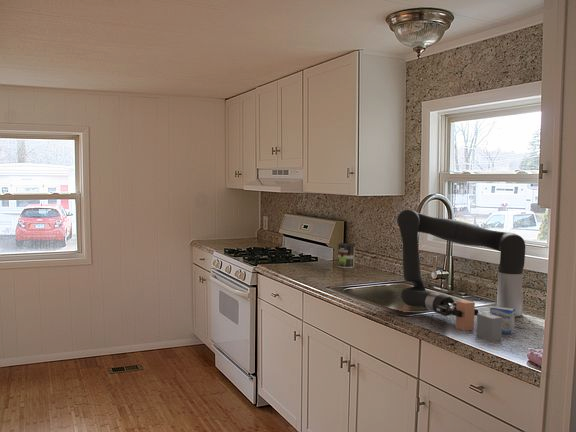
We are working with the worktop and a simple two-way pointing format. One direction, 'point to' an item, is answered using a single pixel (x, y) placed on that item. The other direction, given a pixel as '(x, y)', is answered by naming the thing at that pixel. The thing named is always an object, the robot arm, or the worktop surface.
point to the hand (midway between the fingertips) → (469, 313)
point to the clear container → (346, 255)
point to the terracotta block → (465, 315)
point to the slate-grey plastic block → (489, 327)
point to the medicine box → (505, 318)
